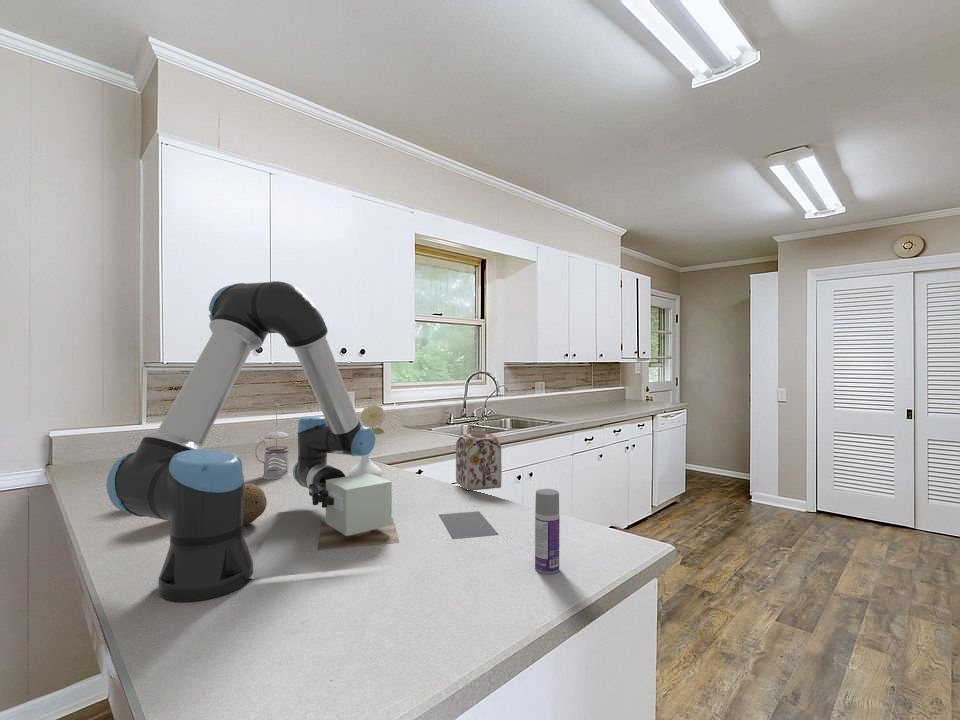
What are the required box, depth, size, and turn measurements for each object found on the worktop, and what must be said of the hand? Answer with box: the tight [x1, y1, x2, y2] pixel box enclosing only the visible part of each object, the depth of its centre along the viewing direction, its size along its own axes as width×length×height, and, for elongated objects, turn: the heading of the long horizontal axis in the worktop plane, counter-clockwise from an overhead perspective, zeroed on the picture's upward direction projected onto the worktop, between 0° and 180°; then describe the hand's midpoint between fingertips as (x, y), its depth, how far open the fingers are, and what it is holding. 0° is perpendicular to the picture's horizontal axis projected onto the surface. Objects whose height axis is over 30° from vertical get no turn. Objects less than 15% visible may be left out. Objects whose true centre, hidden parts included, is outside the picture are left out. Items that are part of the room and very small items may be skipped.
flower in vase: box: [347, 404, 386, 477], centre depth 169 cm, size 13×11×25 cm
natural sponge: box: [243, 483, 268, 526], centre depth 123 cm, size 9×9×10 cm
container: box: [534, 488, 561, 575], centre depth 98 cm, size 5×5×15 cm
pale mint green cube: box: [325, 473, 393, 536], centre depth 116 cm, size 11×11×10 cm
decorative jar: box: [455, 427, 503, 492], centre depth 161 cm, size 12×12×18 cm
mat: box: [438, 510, 500, 540], centre depth 121 cm, size 18×20×1 cm
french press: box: [254, 403, 292, 480], centre depth 173 cm, size 10×12×25 cm
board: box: [316, 516, 401, 551], centre depth 116 cm, size 18×17×1 cm
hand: (366, 499), depth 113 cm, fingers closed on pale mint green cube, 11 cm apart
